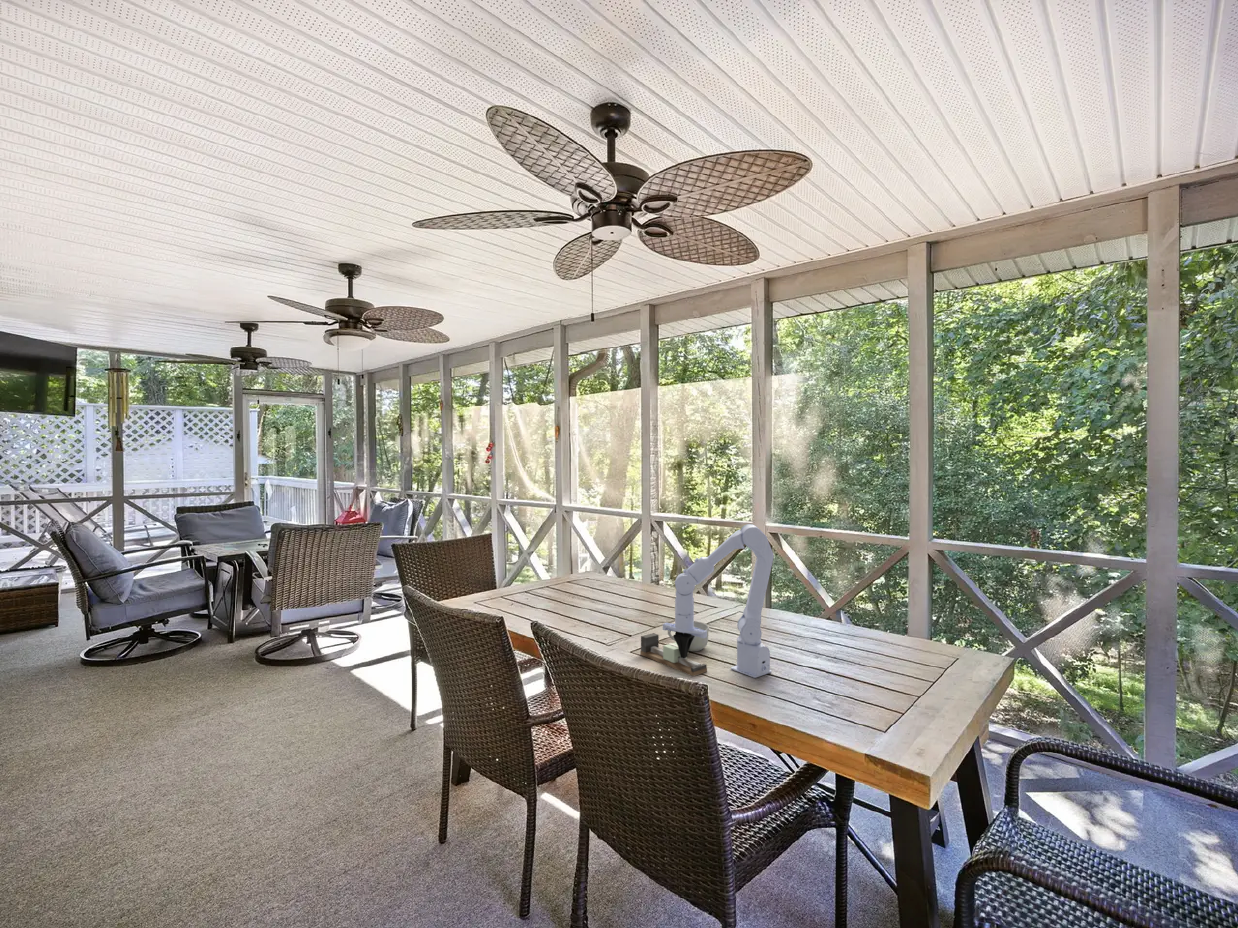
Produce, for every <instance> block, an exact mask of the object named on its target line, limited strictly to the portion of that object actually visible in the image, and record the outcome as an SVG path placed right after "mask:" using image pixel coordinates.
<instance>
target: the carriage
mask: <svg viewBox="0 0 1238 928" xmlns="http://www.w3.org/2000/svg"><path fill="white" fill-rule="evenodd" d="M662 649H663V659H665V660H668V661H670V662H673V663H676V662H678V657H680V651H679V648H678V645H677V643H676V641H674V642H670V643H667V644H664V645H663V646H662ZM686 658H687V659H688V657H686Z"/></svg>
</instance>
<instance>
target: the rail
mask: <svg viewBox="0 0 1238 928" xmlns="http://www.w3.org/2000/svg"><path fill="white" fill-rule="evenodd" d="M659 637H660V635H659V634H657V633H656V632H655V633H654V632H653V633H649V634H644V635H641V636H640V653H639V654H640V655H641V656H643V657H645V658H648V659H650V660H653V661H655V662H657V663H661V664H662V665H665V666H667V667H670V668H673V669H675V670H677V671H680V672H682V673H685V674H686V675H689V676H691V677H696V676H697V675H700V674H704V673H707V672H708V667H707V664H706V663H699V662H697V661H694V660H692V659H689V658H688V657H687V658H681V656H680V657H678V662H676V663H673V662H670V661H668V660H665V659H663V648H660V647H659V645H660V643H659Z"/></svg>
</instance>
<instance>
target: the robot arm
mask: <svg viewBox="0 0 1238 928" xmlns="http://www.w3.org/2000/svg"><path fill="white" fill-rule="evenodd" d="M745 546H746V547H747V548H748V549H750V550H751V551H752V552H753V554H754V555H755V558H756V560H755V564H754V568H753V572H752V577H751V582H750V586H749V591H748V595H747V599H746V603H745V607H744V608H743V611H742V615H741V617H740V618H739V619H738V621H737V623H736V624H737V625H736V627H737V630H738V631H739V635H738V636H737V638H736V665H734V666H731V667H730V669H731V671H735V672H738V673H741V674H743V675H746V676H749V677H751V678H753V679H755V678H759V677H761V676H765V675H767V674H771V673H772V669H771V666H770V665H771V652H770V649H769V647H768V646H766V645H764V643H763V642H762V639H761V638H762V635H763V634H762V633H763V632H762V629H761V624H762V612H763V611H762V610H763V606H764V603H765V598H766V594H767V588H768V585H769V581H770V579H769V578H770V575H771V570H772V568H773V567H772V566H773V562H774V559H775V558H774V556H775V555H774V552H773V550H772V547H771V544H770V542H769V539H768V536H767V535H766V534H765V533H764V532H763V531H762V530H761V529H760V528H759V527H758V526H757V525H755V524H752V523H747V524H744V525H743V526H742V527H741V528H740V529H738V530H736V531H735V532H734V533H732V534H731V535H730V536H729V537H727V538H726V539H725V540H724V541H723V542H722V543H721V544H719V546H718V547H716V548H715V550H714V551H712V552H711V553H710V554H709V555H708V556H700V557H699V558H698V557H696V558H695V559H694V563H692V564H691V565H690V566H689V567H688V568H684V569H682V573H679V574H678V575H677V576H676V577H675V580H674V585H675V586H674V587H675V589H676V591H675V597H674V598H675V599H674V603H675V604H674V607H675V608H674V609H675V610H674V611H675V612H674V623H672V622H671V623H670V622H664V623H662V631H664V632H665V631H668V630H669V631H671V632H673V633H674V634H673V637H674V639H675V641H674V642H676V643H677V645H678V648H679V651H680V656H681V658H686V657H687V658H688V656H689V652H690V651H689V648H690V645H691V643H692V641H693V639H694V637H695V636H697V637H701V638H703V639H704V638H706V637H707V631H705V630H702V629H699V628H696V627H694V621H695V614H694V613H695V610H694V609H695V606H694V604H695V599H694V590H695V587H696V585H700V584H701V583H702V582H703V581H704V580H705V579H706V578H708V577H709V576H710V575H711V574H712V573H714V571H715V565H716V564H718V563H719V562H720V561H721V560H723V559H724V558H726V557H727V556H728V555H729V554H731V552H733V551H734V550H741V549H742V550H744V549H745Z"/></svg>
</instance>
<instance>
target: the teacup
mask: <svg viewBox="0 0 1238 928" xmlns="http://www.w3.org/2000/svg"><path fill="white" fill-rule="evenodd" d="M694 627H696V628H699V629H702V630H705V631H707V637H706V638H704V639H703V638H701V637H697V636H695V637H694V639H693V641H692V643H691V645H690V648H689V652H700V651H702V650H703V649H705V647H707V645H708V642H709V631H710V630H709V629H710V625H708V624H707V623H705V622H701V621H697V620H694ZM667 635H668V637H669V638H670V639H671V640H673V641H674V642H676V641H675V639H674V635H672V631H669V630H667Z"/></svg>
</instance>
